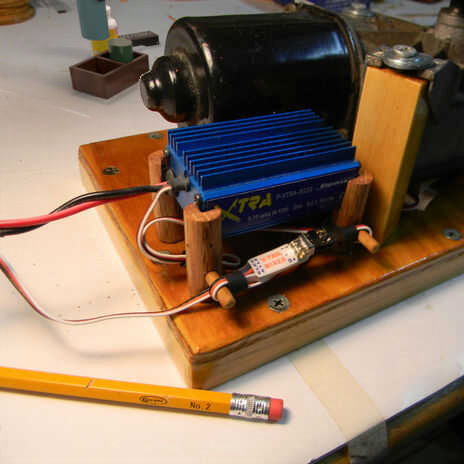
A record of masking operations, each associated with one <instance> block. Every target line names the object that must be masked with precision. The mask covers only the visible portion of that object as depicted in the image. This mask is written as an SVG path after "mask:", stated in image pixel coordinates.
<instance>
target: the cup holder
mask: <svg viewBox="0 0 464 464" xmlns="http://www.w3.org/2000/svg"><path fill="white" fill-rule="evenodd" d="M149 56H150V55H149V54H148V53H144V52H141V51H137V50H134V49H133V58H134V60H132V61H130V62H128V63H126V64H125V63H121V62H118V61H114V60H110V58H109V50H106V51H104V52H101V53H99V54H97V55H95V56H92V55H91V56H90V57H88V58H86V59H84V60H81V61H80V62H77V63H75V64H73V65H70V66H68V70H69V76H70V79H71V85H72V90H73V91H77V92H81V93H84V94H86V95H90V96H93V97H97V98H101V99H104V100H110V99H111V98H113V97H115V96H117V95H118V94H120V93H122V92H124V91H125V90H128V88H131V87H132V86H134V85H136V84H137V83H139V82H140V81H139V79H140V76H141V75H142V74H144V73H146V72H148V71H151V70H150V59H149ZM138 81H139V82H138Z"/></svg>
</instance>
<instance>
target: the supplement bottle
mask: <svg viewBox="0 0 464 464" xmlns="http://www.w3.org/2000/svg"><path fill="white" fill-rule="evenodd" d="M106 11H107V19H108V26H109V34H110V37H109V38H108V39H105V40H98V41H96V40H88V41H89V49H90V55H91V57H92V56H95V55H97V54H99V53H101V52H104V51H106V50H108V42H107V41H108V40H110V39H113V38H118V36H119V33H118V32H119V31H118V24H117V21H116V19H114V18H113V17H111V15H112V9H111V6H109V5H107V4H106Z"/></svg>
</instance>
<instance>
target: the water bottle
mask: <svg viewBox="0 0 464 464" xmlns="http://www.w3.org/2000/svg"><path fill="white" fill-rule="evenodd" d="M75 4H76V9H77V15H78V21H79V28H80V33H81V37H82V38H83V39H85V40H88V41H89V40H96V41H98V40H105V39H108V38H109V37H110V34H109V26H108V19H107V11H106V5H107V4H106V0H105V1H101V2H100V1H98V0H75Z"/></svg>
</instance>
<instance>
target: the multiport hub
mask: <svg viewBox="0 0 464 464" xmlns="http://www.w3.org/2000/svg"><path fill="white" fill-rule="evenodd" d="M118 38H124V39H128V40H130V41H131V42H132V47H133V48H134V47H139V46H143V47H151V46H156V45H160V36H159V34H158V33H155V32H153V31H151V30H145V31H139V32H134V33H127V34H120V35H118ZM157 42H158V43H157Z"/></svg>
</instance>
